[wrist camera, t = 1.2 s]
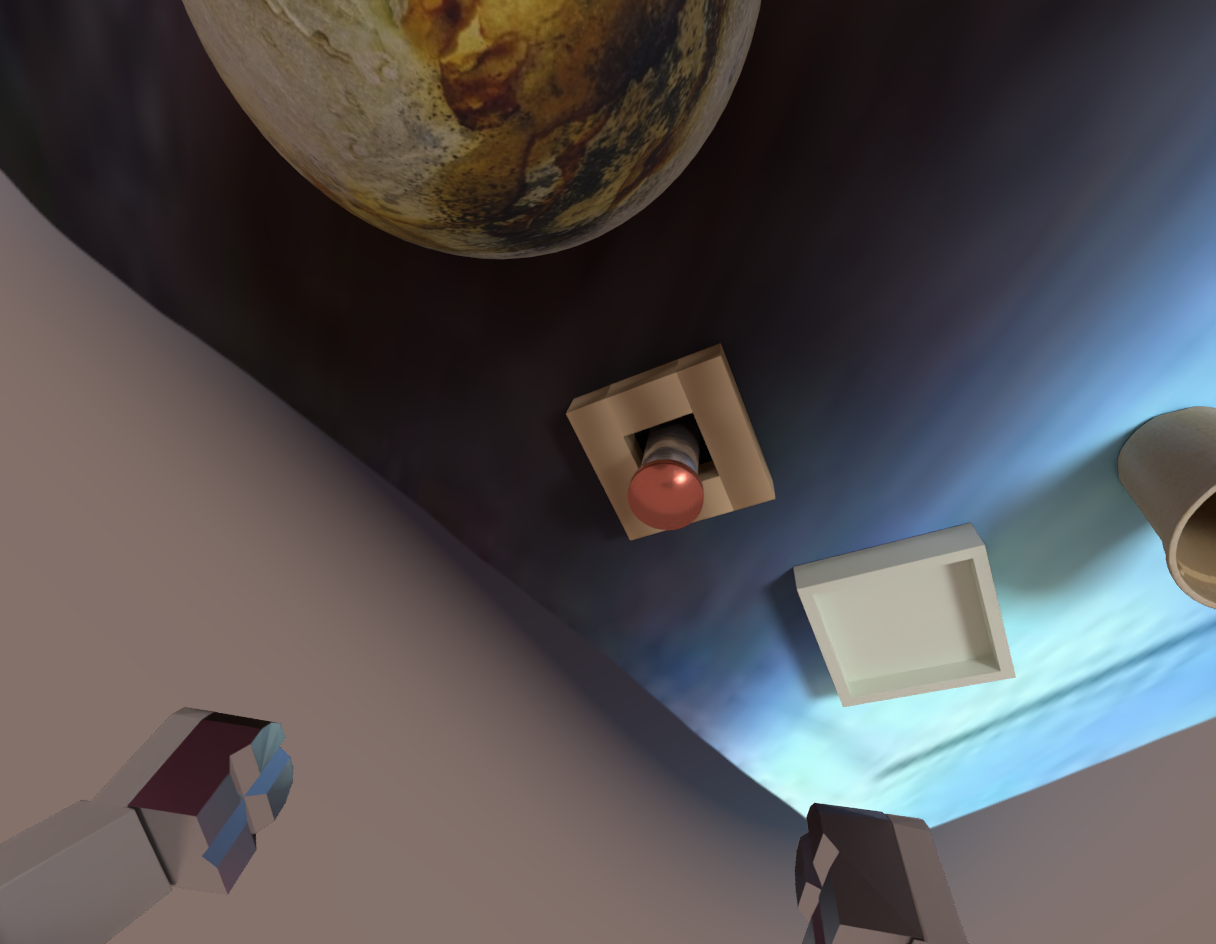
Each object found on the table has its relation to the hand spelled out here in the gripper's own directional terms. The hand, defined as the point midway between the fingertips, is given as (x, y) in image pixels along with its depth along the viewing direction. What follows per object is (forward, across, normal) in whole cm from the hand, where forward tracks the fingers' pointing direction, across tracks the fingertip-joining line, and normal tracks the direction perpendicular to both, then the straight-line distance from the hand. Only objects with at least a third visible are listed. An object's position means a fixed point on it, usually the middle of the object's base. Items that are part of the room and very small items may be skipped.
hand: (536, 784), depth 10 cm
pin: (+32, -2, +8) cm, 33 cm away
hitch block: (+32, -2, +9) cm, 33 cm away
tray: (+32, -19, +20) cm, 42 cm away
